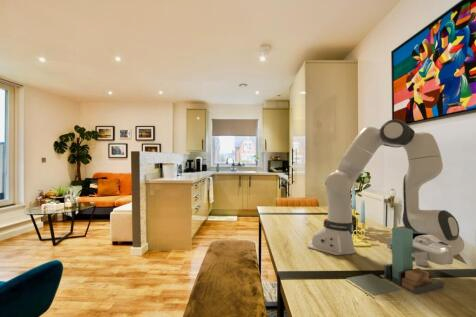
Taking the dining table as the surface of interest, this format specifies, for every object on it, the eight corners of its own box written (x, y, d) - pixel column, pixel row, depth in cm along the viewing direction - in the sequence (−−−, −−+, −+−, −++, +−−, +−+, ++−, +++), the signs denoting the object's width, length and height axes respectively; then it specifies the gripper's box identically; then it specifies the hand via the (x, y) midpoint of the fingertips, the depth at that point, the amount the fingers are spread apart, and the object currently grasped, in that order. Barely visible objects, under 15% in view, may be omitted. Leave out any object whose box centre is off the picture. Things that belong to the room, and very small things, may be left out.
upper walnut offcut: (416, 283, 79) (416, 275, 79) (405, 278, 82) (405, 271, 82) (428, 279, 82) (428, 272, 82) (417, 275, 85) (417, 268, 85)
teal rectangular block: (402, 281, 85) (402, 230, 86) (392, 276, 89) (392, 227, 90) (412, 279, 87) (412, 229, 87) (402, 274, 91) (402, 226, 91)
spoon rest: (382, 247, 124) (382, 233, 124) (408, 249, 122) (408, 235, 122) (407, 267, 100) (407, 250, 100) (439, 269, 98) (439, 252, 98)
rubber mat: (374, 298, 76) (374, 295, 76) (346, 280, 88) (346, 278, 88) (402, 292, 80) (402, 289, 80) (371, 276, 91) (371, 273, 91)
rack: (415, 297, 77) (415, 281, 77) (379, 278, 90) (379, 264, 90) (443, 291, 81) (443, 276, 81) (404, 273, 94) (404, 260, 94)
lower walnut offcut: (413, 291, 79) (413, 283, 79) (401, 285, 83) (401, 278, 83) (432, 287, 82) (432, 280, 82) (420, 281, 85) (420, 274, 86)
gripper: (401, 231, 102) (376, 234, 98) (458, 247, 83) (429, 251, 79) (401, 246, 102) (376, 249, 98) (458, 266, 83) (429, 271, 78)
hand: (400, 250), depth 88 cm, fingers open, 8 cm apart
